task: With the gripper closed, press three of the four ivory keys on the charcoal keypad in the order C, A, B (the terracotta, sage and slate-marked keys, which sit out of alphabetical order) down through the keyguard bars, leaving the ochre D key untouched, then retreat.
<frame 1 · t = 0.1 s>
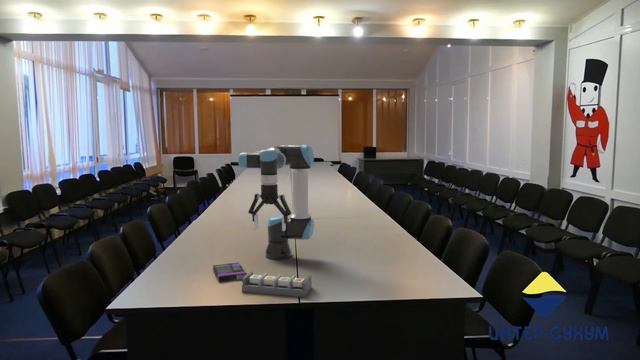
hand: (270, 229, 205), 28 cm above the table, fingers open, 13 cm apart
box: (229, 275, 228), on the table
key b: (255, 278, 208), point 4 cm above the table, slide at 0.0 cm
keypad: (277, 289, 206), on the table
key c: (298, 282, 203), point 4 cm above the table, slide at 0.0 cm
key d: (269, 280, 207), point 4 cm above the table, slide at 0.0 cm
key a: (284, 281, 205), point 4 cm above the table, slide at 0.0 cm
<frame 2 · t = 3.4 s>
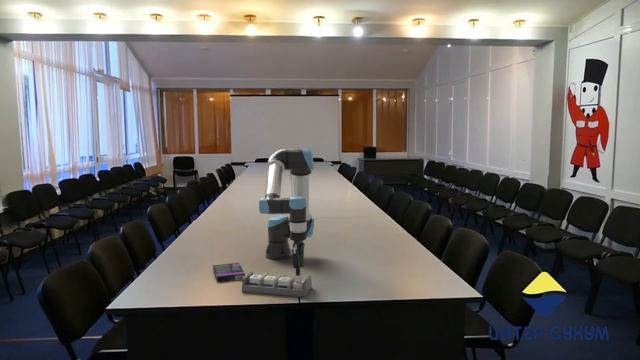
hand: (298, 281, 203), 5 cm above the table, fingers closed
key c: (298, 284, 203), point 3 cm above the table, slide at 1.1 cm, touching gripper
everything else where it was.
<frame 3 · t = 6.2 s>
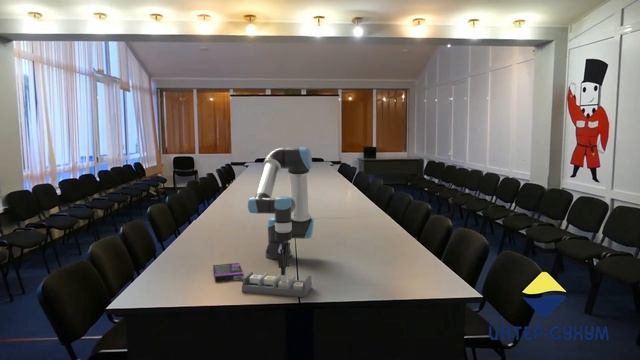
hand: (284, 281, 205), 4 cm above the table, fingers closed
key c: (298, 286, 203), point 2 cm above the table, slide at 1.9 cm
key a: (284, 284, 205), point 3 cm above the table, slide at 1.5 cm, touching gripper
everything else where it was.
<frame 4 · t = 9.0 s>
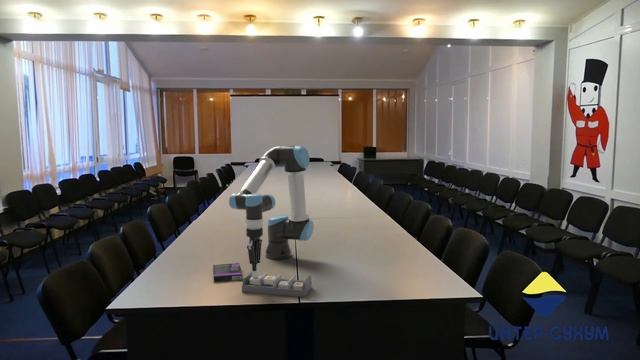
hand: (255, 277, 208), 5 cm above the table, fingers closed
key b: (255, 280, 208), point 4 cm above the table, slide at 0.7 cm, touching gripper
key a: (284, 285, 205), point 2 cm above the table, slide at 1.9 cm
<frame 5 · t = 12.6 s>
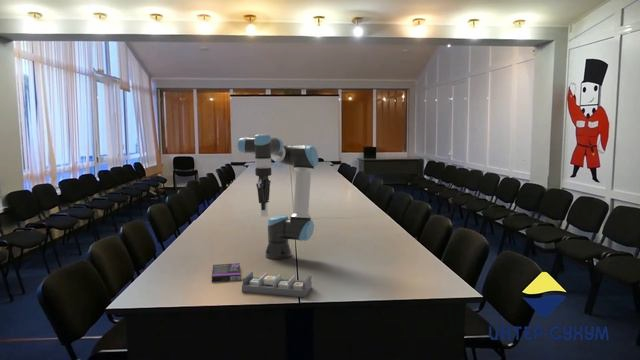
hand: (264, 216, 213), 32 cm above the table, fingers closed
key b: (255, 282, 208), point 2 cm above the table, slide at 1.9 cm
at the end: key c slide at 1.9 cm; key a slide at 1.9 cm; key b slide at 1.9 cm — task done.
